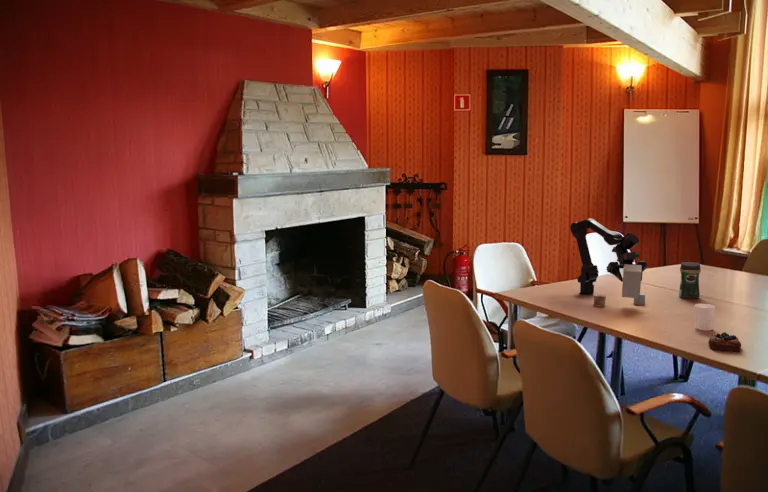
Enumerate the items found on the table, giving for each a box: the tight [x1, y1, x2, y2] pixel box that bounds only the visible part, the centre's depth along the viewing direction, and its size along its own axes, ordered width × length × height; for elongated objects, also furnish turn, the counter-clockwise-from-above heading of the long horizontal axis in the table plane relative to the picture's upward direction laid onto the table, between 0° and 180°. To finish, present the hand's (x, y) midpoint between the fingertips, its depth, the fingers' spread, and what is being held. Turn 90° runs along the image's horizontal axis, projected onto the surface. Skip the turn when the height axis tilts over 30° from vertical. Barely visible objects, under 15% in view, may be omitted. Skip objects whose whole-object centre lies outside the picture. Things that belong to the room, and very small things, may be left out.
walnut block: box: [593, 293, 606, 307], centre depth 312 cm, size 5×5×5 cm
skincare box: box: [621, 264, 643, 299], centre depth 303 cm, size 8×7×16 cm
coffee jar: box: [678, 261, 702, 300], centre depth 323 cm, size 10×8×19 cm
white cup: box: [693, 303, 716, 332], centre depth 267 cm, size 8×8×10 cm
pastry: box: [708, 331, 742, 353], centre depth 242 cm, size 11×12×6 cm
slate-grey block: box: [633, 292, 646, 306], centre depth 314 cm, size 5×5×5 cm
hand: (631, 281), depth 304 cm, fingers closed on skincare box, 9 cm apart
